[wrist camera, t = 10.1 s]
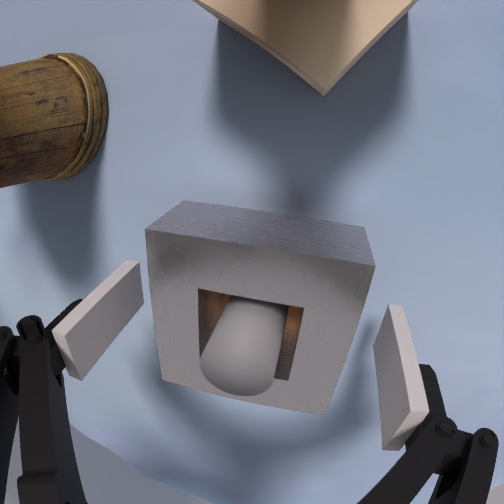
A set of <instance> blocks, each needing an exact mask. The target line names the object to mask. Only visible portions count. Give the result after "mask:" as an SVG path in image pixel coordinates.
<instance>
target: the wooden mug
mask: <svg viewBox="0 0 504 504" xmlns="http://www.w3.org/2000/svg"><path fill="white" fill-rule="evenodd" d="M106 119H107V95H106V89H105V86H104V82H103V79H102V76H101V75H100V73H99V72H98V70H97V69H96V67H95V66H94V65H93V64H92V63H90V62H89V61H88V60H87V59H85V58H84V57H82V56H79V55H77V54H74V53H57V54H47V55H44V56H42V57H39V58H37V59H34V60H31V61H26V62H21V63H16V64H11V65H7V66H3V67H0V188H3V187H7V186H11V185H16V184H21V183H25V182H30V181H35V180H41V181H50V180H55V179H61V178H70V177H73V176H74V175H76V174H77V173H79V172H80V171H82V170H83V169H84V168H85V167H86V166H87V165H88V164H89V163H90V162H91V161H92V159H93V157H94V155H95V154H96V152H97V150H98V149H99V147H100V144H101V141H102V138H103V135H104V132H105V127H106Z"/></svg>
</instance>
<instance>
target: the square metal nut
mask: <svg viewBox="0 0 504 504" xmlns="http://www.w3.org/2000/svg"><path fill="white" fill-rule="evenodd" d="M145 236H146V250H147V263H148V274H149V285H150V295H151V304H152V312H153V320H154V328H155V335H156V342H157V349H158V356H159V362H160V368H161V374H162V380H165V381H168V382H171V383H175V384H178V385H182V386H185V387H189V388H192V389H196V390H200V391H204V392H208V393H212V394H216V395H220V396H224V397H228V398H233V399H237V400H242V401H247V402H251V403H256V404H261V405H267V406H272V407H277V408H283V409H289V410H295V411H302V412H308V413H316V414H323V415H324V414H325V412H326V409H327V407H328V404H329V402H330V400H331V397H332V395H333V392H334V390H335V387H336V384H337V382H338V379H339V377H340V374H341V371H342V369H343V366H344V363H345V361H346V358H347V355H348V352H349V349H350V347H351V344H352V341H353V338H354V335H355V332H356V329H357V326H358V323H359V320H360V317H361V314H362V310H363V307H364V304H365V301H366V297H367V294H368V291H369V287H370V284H371V280H372V277H373V273H374V269H375V262H374V259H373V255H372V252H371V248H370V245H369V241H368V238H367V235H366V231H365V228H364V227H361V226H355V225H349V224H343V223H337V222H331V221H325V220H319V219H313V218H306V217H300V216H293V215H287V214H280V213H273V212H267V211H260V210H253V209H245V208H238V207H231V206H223V205H215V204H208V203H200V202H192V201H182V202H181V203H179V204H178V205H177V206H175V207H174V208H173V209H171V210H170V211H168V212H167V213H166V214H164V215H163V216H162V217H160V218H159V219H158V220H156V221H155V222H153V223H152V224H151V225H149V226H148V227H147V228H145ZM223 293H225V294H230V295H235V296H240V297H246V298H251V299H257V300H262V301H268V302H274V303H279V304H285V305H291V306H297V307H301V312H300V318H299V322H298V327H297V330H293V329H288V328H285V329H284V334H283V338H282V343H281V348H280V352H279V357H278V361H277V366H276V370H275V375H274V379H273V383H272V385H271V386H270V388H269V389H267V390H266V391H265V392H263V393H261V394H258V395H254V396H237V395H233V394H229V393H226V392H224V391H222V390H220V389H218V388H216V387H215V386H213V385H212V384H211V383H210V382H209V381H208V380H207V379H206V378H205V377H204V375H203V373H202V371H201V369H200V358H201V355H202V353H203V351H204V349H205V347H206V345H207V343H208V341H209V339H210V337H211V335H212V333H213V331H214V329H215V327H216V325H217V323H218V321H219V319H220V317H221V315H222V311H223Z"/></svg>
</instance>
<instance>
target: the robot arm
mask: <svg viewBox="0 0 504 504" xmlns="http://www.w3.org/2000/svg"><path fill="white" fill-rule="evenodd" d="M143 304H144V299H143V291H142V283H141V274H140V264H139V262H138V261H133V260H128V259H127V260H126V261H125V262H124V263H123V264H122V265H121V266H120V267H118V268H117V269H116V270H115V271H114V272H113V273H112V274H111V275H110V276H108V277H107V278H106V279H105V280H104V281H103V282H102V283H101V284H100V285H99V286H98V287H96V288H95V289H94V290H93V291H92V292H91V293H90V294H89V295H88V296H87V297H86V298H85V299H84V300H83V299H78V300H76V301H75V302H73V303H71V304H70V305H69V306H68V307H67V308H66V309H65V310H63V311H62V312H61V313H60V315H58V316H57V317H56V318H55V319H54V320H53V321H52V322H51V323H50V324H49V325H48V326H47V327H46V328H45V329H44V326H43V323H42V320H41V318H40V317H38V316H35V315H30V316H27V317H24V318H22V319H21V320H20V321H19V322H18V323H17V326H16V327H17V330H18V332H19V335H20V336H14V335H13V332H12V330H11V328H9V327H7V326H1V327H0V504H4V501H5V494H6V485H7V477H8V469H9V463H10V457H11V451H12V445H13V439H14V435H15V430H16V425H17V421H18V416H19V429H20V430H19V431H20V448H21V460H22V470H23V474H22V476H20V477H18V479H17V488H18V495H19V501H20V504H88V503H87V501H86V499H85V496H84V492H83V488H82V485H81V480H80V476H79V472H78V467H77V463H76V458H75V453H74V448H73V443H72V438H71V432H70V425H69V419H68V412H67V404H66V396H65V387H64V377H63V374H62V370H63V369H64V368H65V367H66V369H67V371H68V374H69V375H70V376H72V377H74V378H76V379H78V380H81V381H82V380H83V379H84V377H85V376H86V375H87V373H88V372H89V371H90V369H91V368H92V367H93V366H94V364H95V363H96V362H97V361H98V359H99V358H100V357H101V356H102V354H103V353H104V352H105V350H106V349H107V348H108V347H109V345H110V344H111V343H112V342H113V340H114V339H115V338H116V337H117V336H118V334H119V333H120V332H121V331H122V329H123V328H124V327H125V326H126V324H127V323H128V322H129V321H130V320H131V318H132V317H133V316H134V315H135V313H136V312H137V311H138V310H139V309H140V307H141V306H142V305H143ZM373 349H374V356H375V365H376V374H377V383H378V394H379V405H380V418H381V433H382V450H395V451H399V450H400V449H401V448H402V447H403V445H404V444H405V446H406V452H405V453H404V454H403V456H402V457H401V458H400V459H399V460H398V461H397V462H396V464H395V465H394V466H393V467H392V468H391V469H390V470H389V472H388V473H387V474H386V475H385V476H384V477H383V478H382V479H381V480H380V481H379V482H378V483H377V484H376V485H375V486H374V487H373V488H372V490H371V491H370V492H369V493H368V494H367V495H366V496H364V497H363V498H362V499H361V500H360V501H359V502H358V503H357V504H410V502H411V501H412V500H413V499H414V497H415V496H416V495H417V494H418V492H419V491H420V490H421V488H422V487H423V486H424V484H425V483H426V482H427V480H428V479H429V478H430V476H431V475H432V473H435V474H439V478H438V480H437V483H436V486H435V488H434V491H433V493H432V496H431V498H430V500H429V503H428V504H486V501H487V497H488V493H489V489H490V485H491V481H492V477H493V472H494V467H495V462H496V457H497V451H498V445H499V444H498V438H497V435H496V434H495V433H494V432H493V431H492V430H490V429H488V428H481V429H478V430H477V431H476V432H475V433H474V434H471V433H467V432H464V431H461V430H458V429H457V426H456V424H455V422H453V421H452V420H451V419H450V418H448V417H447V416H446V412H445V407H444V403H443V399H442V395H441V392H440V388H439V384H438V380H437V377H436V373H435V372H434V370H433V369H432V368H431V366H430V365H425V364H418V360H417V356H416V352H415V348H414V345H413V341H412V338H411V334H410V330H409V327H408V324H407V320H406V317H405V314H404V310H403V307H402V306H397V305H390V304H388V307H387V310H386V313H385V315H384V318H383V321H382V324H381V326H380V329H379V332H378V334H377V337H376V340H375V342H374V345H373Z"/></svg>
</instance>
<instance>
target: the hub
mask: <svg viewBox="0 0 504 504" xmlns="http://www.w3.org/2000/svg"><path fill="white" fill-rule="evenodd" d="M300 312H301V307H297V306H291V305H285V304H279V303H274V302H268V301H262V300H257V299H251V298H246V297H240V296H235V295H230V294H225V293H223V311H222V315H221V317H220V319H219V321H218V323H217V325H216V327H215V329H214V331H213V333H212V335H211V337H210V339H209V341H208V343H207V345H206V347H205V349H204V351H203V353H202V355H201V358H200V369H201V371H202V373H203V375H204V377H205V378H206V379H207V380H208V381H209V382H210V383H211V384H212V385H213V386H215V387H216V388H218V389H220V390H222V391H224V392H226V393H229V394H233V395H237V396H254V395H258V394H261V393H263V392H265V391H266V390H267V389H269V388H270V386H271V385H272V383H273V379H274V375H275V370H276V366H277V361H278V357H279V352H280V348H281V343H282V338H283V334H284V329H285V328H288V329H293V330H297V327H298V322H299V318H300Z"/></svg>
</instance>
